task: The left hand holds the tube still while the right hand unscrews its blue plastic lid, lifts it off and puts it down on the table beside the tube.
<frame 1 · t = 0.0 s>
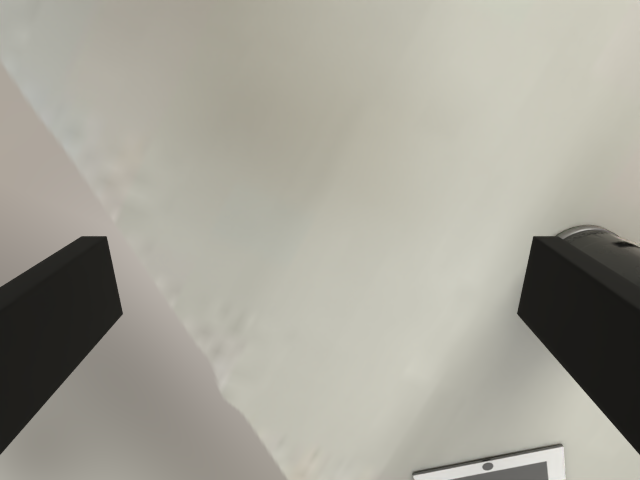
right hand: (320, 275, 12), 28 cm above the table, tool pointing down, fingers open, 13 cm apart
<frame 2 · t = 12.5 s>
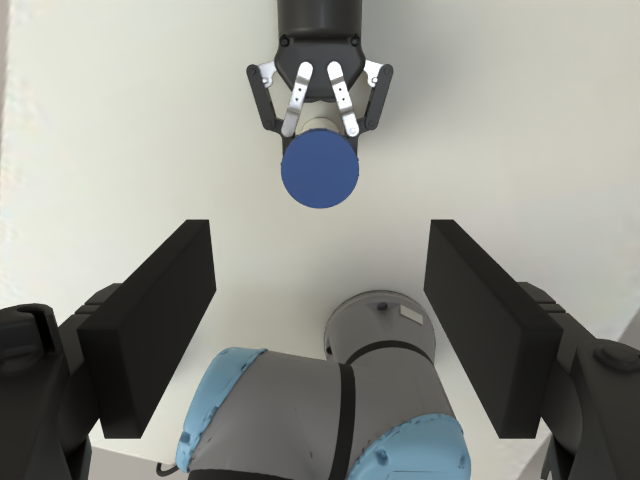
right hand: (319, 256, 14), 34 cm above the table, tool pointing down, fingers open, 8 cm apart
left hand: (320, 172, 41), fingers closed on tube, 4 cm apart
lid: (319, 170, 28), point 19 cm above the table, screwed on, not yet turned
tube: (320, 138, 46), on the table, touching left hand
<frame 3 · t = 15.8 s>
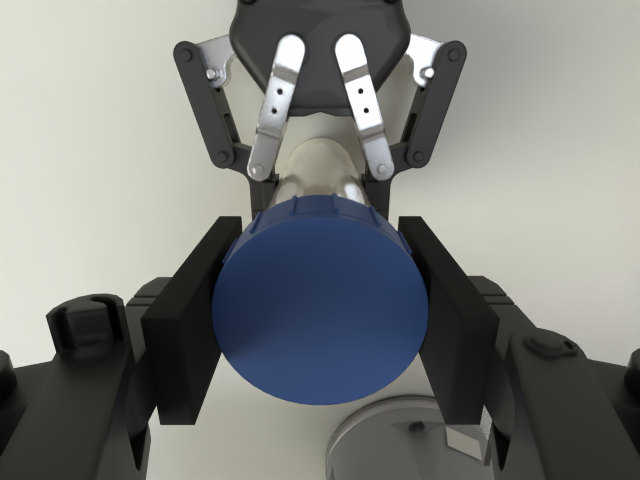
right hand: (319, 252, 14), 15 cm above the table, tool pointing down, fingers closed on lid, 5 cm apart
left hand: (320, 240, 23), fingers closed on tube, 4 cm apart
lid: (320, 313, 10), point 19 cm above the table, screwed on, not yet turned, touching right hand
tube: (320, 171, 28), on the table, touching left hand
when the right hand's fingers open (0 cm above the table, at t = 27.6 s): lid stays where it is, point 2 cm above the table.
when the left hand's fingers open (7 cm above the table, at t = 28.5 s): tube stays where it is, on the table.
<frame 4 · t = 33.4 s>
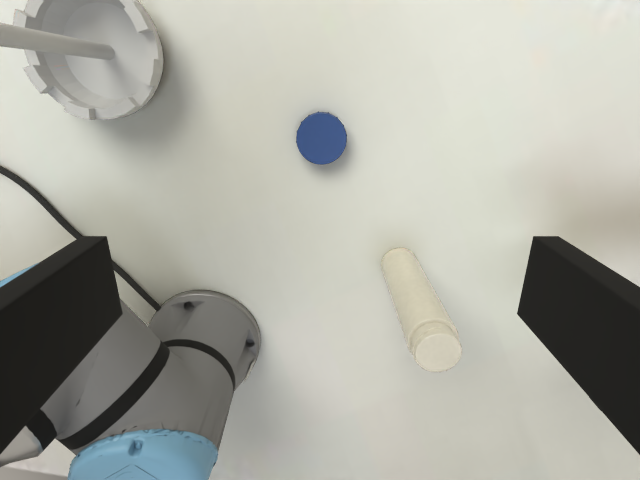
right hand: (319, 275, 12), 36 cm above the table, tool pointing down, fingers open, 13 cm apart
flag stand: (112, 53, 42), on the table
lid: (321, 139, 44), point 2 cm above the table, off its thread
tube: (398, 264, 51), on the table
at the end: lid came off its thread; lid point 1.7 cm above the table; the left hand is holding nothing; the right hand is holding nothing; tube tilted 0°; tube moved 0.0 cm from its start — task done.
